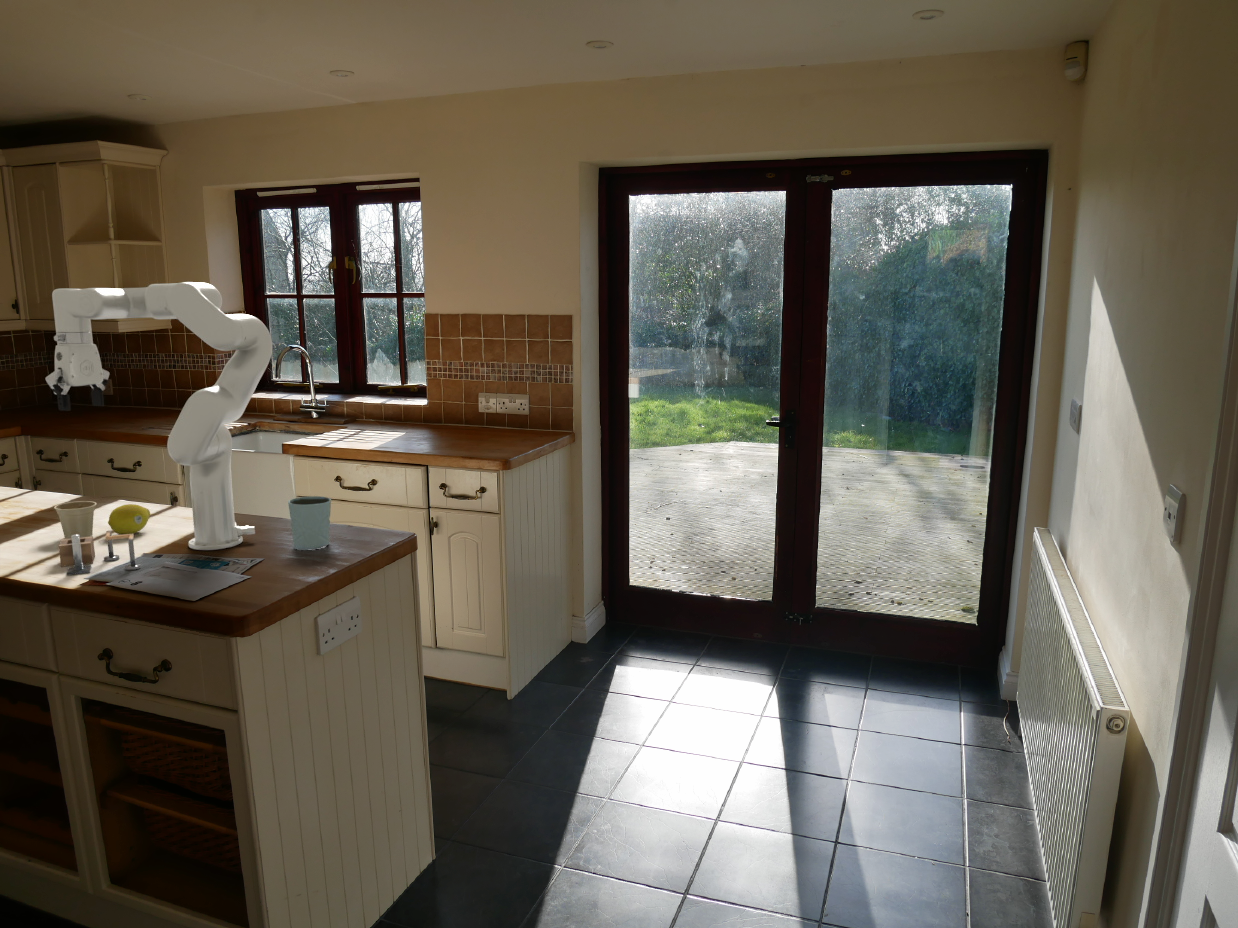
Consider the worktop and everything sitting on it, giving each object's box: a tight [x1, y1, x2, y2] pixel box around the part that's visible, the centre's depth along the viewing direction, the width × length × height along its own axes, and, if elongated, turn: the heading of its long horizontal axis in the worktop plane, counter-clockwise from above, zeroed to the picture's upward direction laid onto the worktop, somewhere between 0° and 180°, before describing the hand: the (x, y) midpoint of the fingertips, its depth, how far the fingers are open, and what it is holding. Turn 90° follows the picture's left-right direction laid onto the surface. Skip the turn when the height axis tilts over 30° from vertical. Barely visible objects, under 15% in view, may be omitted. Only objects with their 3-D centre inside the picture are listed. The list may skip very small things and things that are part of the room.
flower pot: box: [53, 500, 98, 539], centre depth 227 cm, size 9×9×9 cm
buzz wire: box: [103, 530, 142, 571], centre depth 205 cm, size 5×14×7 cm, turn 62°
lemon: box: [107, 503, 151, 535], centre depth 231 cm, size 11×8×8 cm
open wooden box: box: [58, 535, 96, 568], centre depth 207 cm, size 6×6×5 cm
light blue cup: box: [287, 495, 332, 551], centre depth 221 cm, size 10×10×12 cm
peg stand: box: [66, 534, 92, 576], centre depth 199 cm, size 4×4×9 cm
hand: (81, 408), depth 218 cm, fingers open, 9 cm apart
